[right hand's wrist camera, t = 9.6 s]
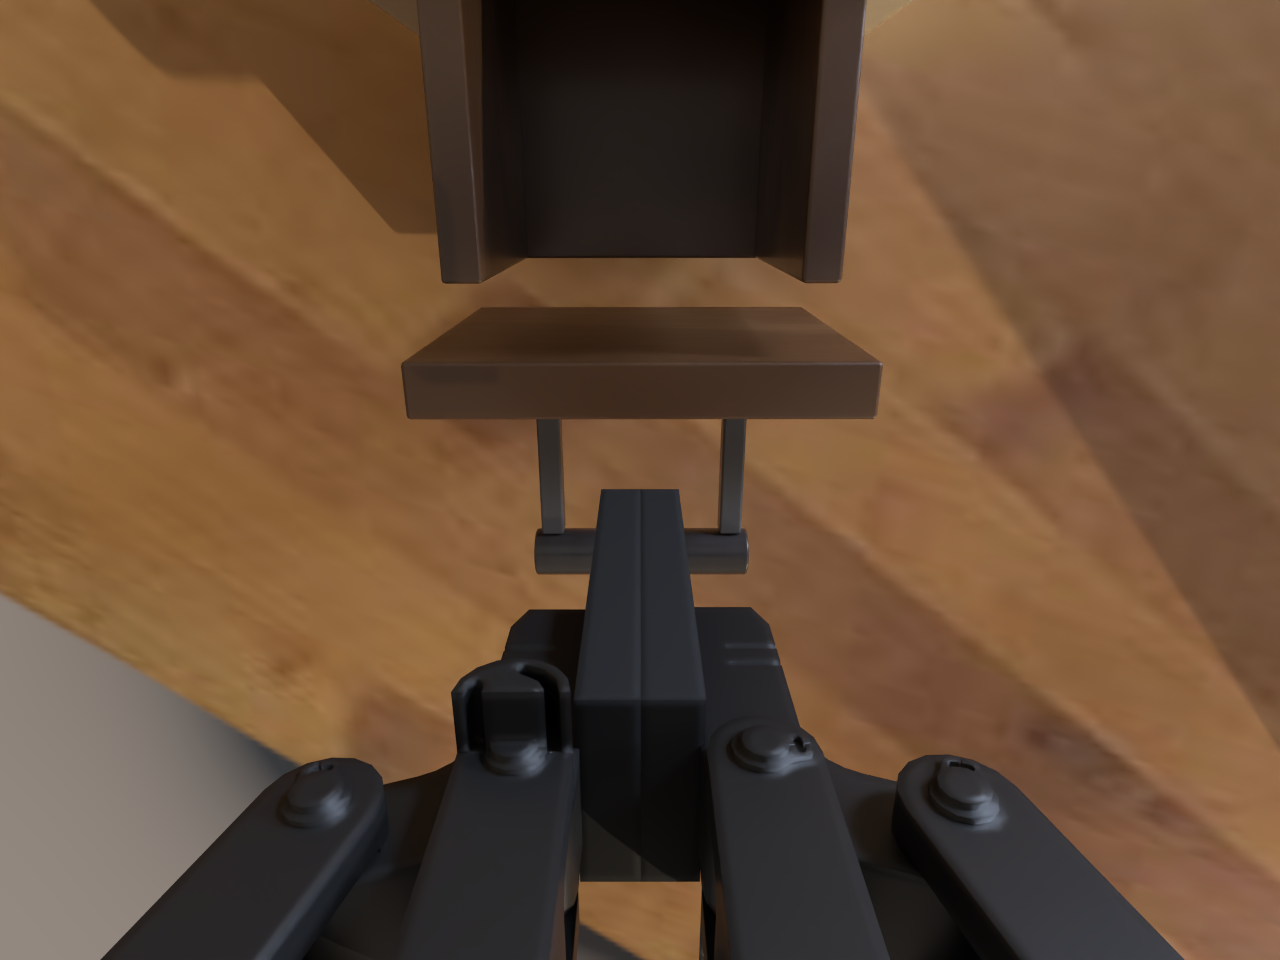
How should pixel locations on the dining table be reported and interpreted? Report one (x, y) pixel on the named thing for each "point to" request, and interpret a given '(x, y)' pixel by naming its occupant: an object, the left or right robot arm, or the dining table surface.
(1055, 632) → the dining table surface
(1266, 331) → the dining table surface
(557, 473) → the drawer
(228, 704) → the dining table surface
